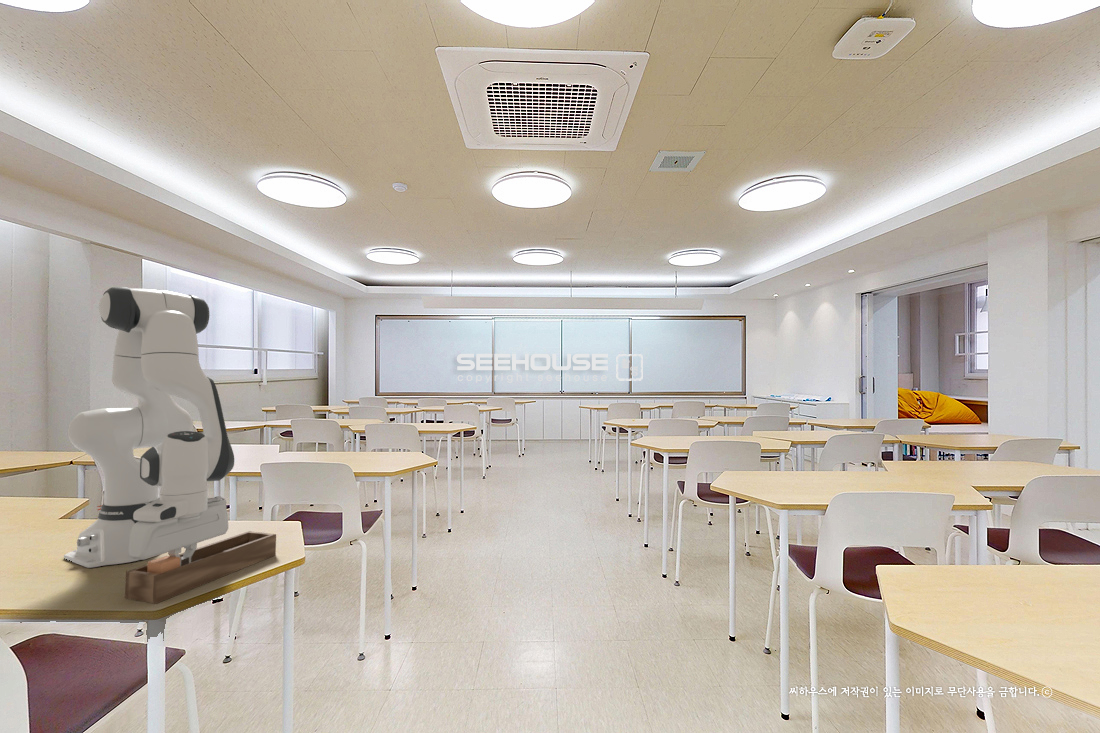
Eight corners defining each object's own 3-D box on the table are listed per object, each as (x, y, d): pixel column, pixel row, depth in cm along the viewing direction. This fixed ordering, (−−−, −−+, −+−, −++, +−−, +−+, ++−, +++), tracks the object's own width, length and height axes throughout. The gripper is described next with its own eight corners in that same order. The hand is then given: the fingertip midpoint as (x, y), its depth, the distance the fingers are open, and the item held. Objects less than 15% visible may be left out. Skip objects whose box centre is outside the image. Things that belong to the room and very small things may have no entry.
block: (146, 580, 104) (147, 562, 104) (165, 573, 108) (166, 555, 108) (160, 583, 103) (161, 563, 103) (179, 575, 107) (180, 557, 107)
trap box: (124, 598, 103) (125, 571, 103) (248, 551, 131) (249, 531, 132) (156, 603, 100) (157, 576, 100) (275, 555, 129) (276, 534, 129)
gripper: (215, 493, 121) (214, 550, 120) (124, 514, 101) (122, 581, 101) (236, 495, 119) (234, 552, 119) (147, 516, 100) (144, 585, 99)
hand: (182, 566), depth 110 cm, fingers closed
